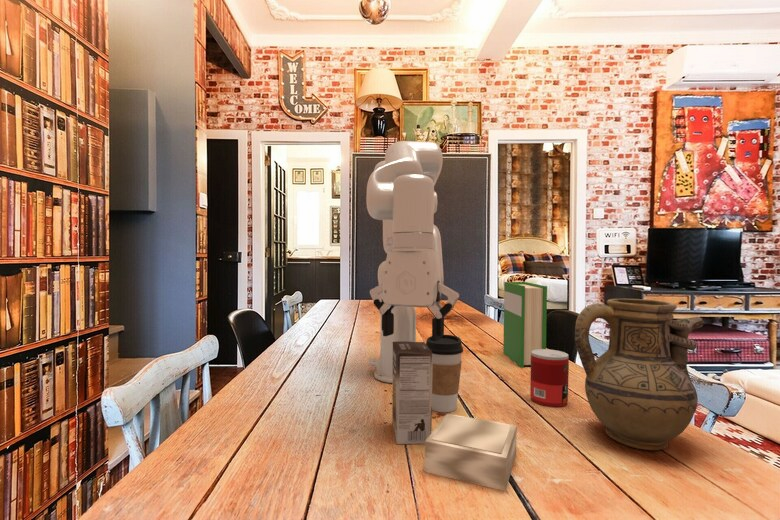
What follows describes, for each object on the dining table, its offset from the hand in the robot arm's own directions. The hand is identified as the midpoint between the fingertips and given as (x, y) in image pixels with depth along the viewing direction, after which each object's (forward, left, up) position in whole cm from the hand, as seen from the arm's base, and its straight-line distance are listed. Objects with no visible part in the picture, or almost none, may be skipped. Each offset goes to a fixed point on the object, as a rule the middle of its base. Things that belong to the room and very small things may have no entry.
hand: (411, 337), depth 75 cm
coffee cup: (+1, +15, -18) cm, 24 cm away
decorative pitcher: (+37, +17, -18) cm, 44 cm away
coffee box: (0, 0, -18) cm, 18 cm away
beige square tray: (+13, -5, -18) cm, 23 cm away
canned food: (+21, +30, -18) cm, 41 cm away
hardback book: (+10, +65, -18) cm, 69 cm away
